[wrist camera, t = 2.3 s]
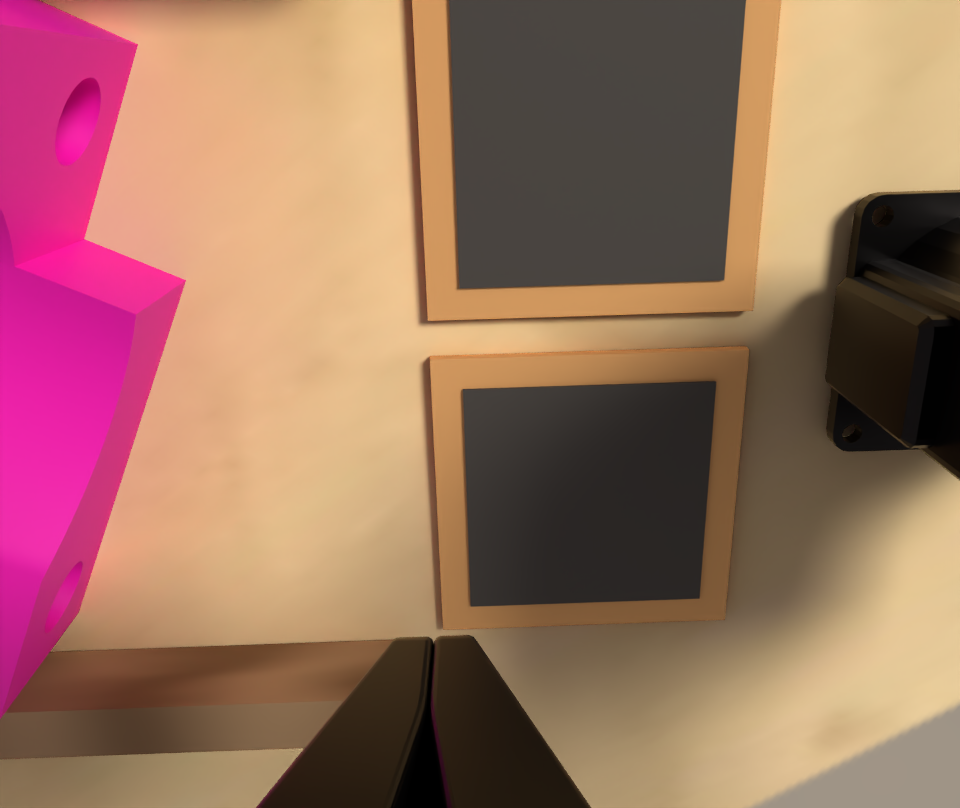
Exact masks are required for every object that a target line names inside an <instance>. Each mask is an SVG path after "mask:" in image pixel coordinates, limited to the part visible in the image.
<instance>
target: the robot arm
mask: <svg viewBox="0 0 960 808" xmlns="http://www.w3.org/2000/svg"><path fill="white" fill-rule="evenodd" d="M879 206H884V207H885V211H886V214H885V217H884V219H883V220H882V221H881V222H880V223H879V224H874V223H873V222H872V215H873V212H874V211H875V210H876V209H877V208H878V207H879ZM825 379H826V382H827V383H828V384H829V385H830V386H831V387H832V389H831V397H830V405H829V412H828V420H827V428H826V429H827V436H828V438H829V439H830V441H831V442H832V443H833V444H834V445H835V446H837V447H838V448H840V449H841V450H843V451H880V450H910V449H920V450H921V451H923V452H924V453H925V454H927V455H928V456H929V457H930V458H932V459H933V460H934V461H936V462H937V463H938V464H939V465H941V466H942V467H943V468H945V469H946V470H947V471H948V472H950V473H951V474H952V475H954V476H955V477H956V478H957V479H959V480H960V190H944V191H910V192H878V193H873V194H869V195H868V196H866V197H865V198H863V199H862V200H861V201H860V203H859V204H858V205H857V207H856V210H855V213H854V219H853V227H852V235H851V242H850V250H849V258H848V265H847V273H846V277H845V278H844V279H843V281H842V282H841V283H840V284H839V285H838V286H837V289H836V296H835V304H834V312H833V320H832V328H831V336H830V344H829V352H828V360H827V368H826V376H825ZM853 424H854V425H855V429H854V432H853V433H852V434H851V435H849V436H846V437H843V436H842V433H843V431H844V429H845V428H846V427H847V426H849V425H853ZM256 808H591V807H590V805H589V804H588V802H587V801H586V800H585V798H584V797H583V795H582V794H581V792H580V791H579V789H578V788H577V786H576V785H575V783H574V782H573V781H572V779H571V778H570V776H569V775H568V773H567V772H566V770H565V769H564V767H563V766H562V765H561V763H560V762H559V760H558V759H557V757H556V756H555V754H554V753H553V751H552V750H551V749H550V747H549V746H548V744H547V743H546V741H545V740H544V738H543V737H542V735H541V734H540V732H539V731H538V730H537V728H536V727H535V725H534V724H533V722H532V721H531V719H530V718H529V716H528V715H527V714H526V712H525V711H524V709H523V708H522V706H521V705H520V703H519V702H518V700H517V699H516V697H515V696H514V695H513V693H512V692H511V690H510V689H509V687H508V686H507V684H506V683H505V681H504V680H503V679H502V677H501V676H500V674H499V673H498V671H497V670H496V668H495V667H494V665H493V664H492V663H491V661H490V660H489V658H488V657H487V655H486V654H485V652H484V651H483V649H482V648H481V646H480V645H479V644H478V642H477V641H476V639H475V638H474V637H472V636H470V635H460V636H440V637H438V638H436V640H435V641H434V643H433V640H432V639H431V638H429V637H404V638H396V639H394V640H393V641H392V642H391V643H390V644H389V645H388V647H387V648H386V649H385V650H384V652H383V653H382V654H381V655H380V656H379V658H378V659H377V660H376V661H375V663H374V664H373V665H372V666H371V667H370V669H369V670H368V671H367V672H366V674H365V675H364V676H363V677H362V679H361V680H360V681H359V682H358V683H357V685H356V686H355V687H354V688H353V690H352V691H351V692H350V693H349V694H348V696H347V697H346V698H345V699H344V701H343V702H342V703H341V704H340V705H339V707H338V708H337V709H336V710H335V712H334V713H333V714H332V715H331V717H330V718H329V719H328V720H327V721H326V723H325V724H324V725H323V726H322V728H321V729H320V730H319V731H318V732H317V734H316V735H315V736H314V737H313V739H312V740H311V741H310V742H309V744H308V745H307V746H306V747H305V748H304V750H303V751H302V752H301V753H300V755H299V756H298V757H297V758H296V759H295V761H294V762H293V763H292V764H291V766H290V767H289V768H288V769H287V771H286V772H285V773H284V774H283V775H282V777H281V778H280V779H279V780H278V782H277V783H276V784H275V785H274V786H273V788H272V789H271V790H270V791H269V793H268V794H267V795H266V796H265V797H264V799H263V800H262V801H261V802H260V804H259V805H258V806H257V807H256Z"/></svg>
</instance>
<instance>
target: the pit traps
mask: <svg viewBox="0 0 960 808" xmlns="http://www.w3.org/2000/svg"><path fill="white" fill-rule="evenodd" d="M780 8H781V0H412V10H413V31H414V51H415V71H416V91H417V112H418V132H419V152H420V172H421V193H422V213H423V233H424V254H425V274H426V294H427V314H428V321H437V320H469V319H502V318H534V317H566V316H598V315H630V314H663V313H695V312H727V311H753V305H754V294H755V283H756V272H757V261H758V250H759V239H760V228H761V217H762V206H763V195H764V184H765V173H766V162H767V151H768V140H769V129H770V118H771V107H772V96H773V85H774V74H775V63H776V52H777V41H778V30H779V19H780ZM748 360H749V349H748V348H747V347H746V346H737V347H705V348H673V349H642V350H610V351H578V352H547V353H515V354H483V355H452V356H430V375H431V395H432V416H433V436H434V456H435V476H436V497H437V517H438V537H439V557H440V578H441V598H442V618H443V630H451V629H480V628H508V627H536V626H564V625H592V624H620V623H649V622H677V621H705V620H725V613H726V602H727V591H728V580H729V569H730V558H731V547H732V536H733V525H734V514H735V503H736V492H737V481H738V470H739V459H740V448H741V437H742V426H743V415H744V404H745V393H746V382H747V371H748Z"/></svg>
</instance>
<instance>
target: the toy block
mask: <svg viewBox="0 0 960 808" xmlns="http://www.w3.org/2000/svg"><path fill="white" fill-rule="evenodd" d="M137 46H138V44H135V43H133V42H131V41H129V40H126V39H124V38H122V37H120V36H117V35H115V34H113V33H111V32H109V31H106V30H104V29H102V28H100V27H97V26H95V25H93V24H91V23H88V22H86V21H84V20H82V19H79V18H77V17H75V16H73V15H71V14H68V13H66V12H64V11H62V10H59V9H57V8H55V7H53V6H50V5H48V4H46V3H44V2H41V1H39V0H0V719H1V718H2V716H3V715H4V714H5V712H6V711H7V709H8V708H9V707H10V705H11V704H12V703H13V701H14V700H15V699H16V697H17V696H18V694H19V693H20V692H21V690H22V689H23V688H24V686H25V685H26V684H27V682H28V681H29V679H30V678H31V677H32V675H33V674H34V673H35V671H36V670H37V669H38V667H39V666H40V664H41V663H42V662H43V660H44V659H45V658H46V656H47V655H48V654H49V652H50V651H51V650H52V648H53V647H54V645H55V644H56V643H57V641H58V640H59V639H60V637H61V636H62V635H63V633H64V632H65V630H66V629H67V628H68V626H69V625H70V624H71V622H72V621H73V620H74V618H75V617H76V615H77V614H78V613H79V610H80V607H81V604H82V601H83V597H84V594H85V591H86V588H87V585H88V582H89V579H90V576H91V573H92V570H93V566H94V563H95V560H96V557H97V554H98V551H99V548H100V545H101V542H102V539H103V535H104V532H105V529H106V526H107V523H108V520H109V517H110V514H111V511H112V508H113V505H114V501H115V498H116V495H117V492H118V489H119V486H120V483H121V480H122V477H123V474H124V470H125V467H126V464H127V461H128V458H129V455H130V452H131V449H132V446H133V443H134V439H135V436H136V433H137V430H138V427H139V424H140V421H141V418H142V415H143V412H144V409H145V405H146V402H147V399H148V396H149V393H150V390H151V387H152V384H153V381H154V378H155V374H156V371H157V368H158V365H159V362H160V359H161V356H162V353H163V350H164V347H165V343H166V340H167V337H168V334H169V331H170V328H171V325H172V322H173V319H174V316H175V312H176V309H177V306H178V303H179V300H180V297H181V294H182V291H183V288H184V285H185V282H186V280H184V279H181V278H179V277H176V276H174V275H171V274H169V273H166V272H164V271H161V270H159V269H156V268H154V267H152V266H149V265H147V264H144V263H142V262H139V261H137V260H134V259H132V258H129V257H127V256H124V255H122V254H119V253H117V252H115V251H112V250H110V249H107V248H105V247H102V246H100V245H97V244H95V243H92V242H90V241H87V240H85V239H84V237H85V234H86V230H87V227H88V223H89V219H90V216H91V212H92V209H93V205H94V201H95V198H96V194H97V190H98V187H99V183H100V180H101V176H102V172H103V169H104V165H105V161H106V158H107V154H108V151H109V147H110V143H111V140H112V136H113V132H114V129H115V125H116V122H117V118H118V114H119V111H120V107H121V103H122V100H123V96H124V93H125V89H126V85H127V82H128V78H129V75H130V71H131V67H132V64H133V60H134V56H135V53H136V49H137Z"/></svg>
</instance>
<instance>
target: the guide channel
mask: <svg viewBox="0 0 960 808" xmlns="http://www.w3.org/2000/svg"><path fill="white" fill-rule="evenodd" d="M392 641H393V640H377V641H348V642H320V643H292V644H264V645H236V646H208V647H180V648H152V649H124V650H96V651H68V652H49V654H48V655H47V656H46V658H45V659H44V660H43V662H42V663H41V664H40V666H39V667H38V669H37V670H36V671H35V673H34V674H33V675H32V677H31V678H30V679H29V681H28V682H27V684H26V685H25V686H24V688H23V689H22V690H21V692H20V693H19V694H18V696H17V697H16V699H15V700H14V701H13V703H12V704H11V705H10V707H9V708H8V709H7V711H6V712H5V714H4V715H3V716H2V718H1V719H0V759H20V758H47V757H74V756H100V755H127V754H154V753H181V752H208V751H235V750H262V749H289V748H305V747H306V746H307V745H308V744H309V742H310V741H311V740H312V739H313V737H314V736H315V735H316V734H317V732H318V731H319V730H320V729H321V728H322V726H323V725H324V724H325V723H326V721H327V720H328V719H329V718H330V717H331V715H332V714H333V713H334V712H335V710H336V709H337V708H338V707H339V705H340V704H341V703H342V702H343V701H344V699H345V698H346V697H347V696H348V694H349V693H350V692H351V691H352V690H353V688H354V687H355V686H356V685H357V683H358V682H359V681H360V680H361V679H362V677H363V676H364V675H365V674H366V672H367V671H368V670H369V669H370V667H371V666H372V665H373V664H374V663H375V661H376V660H377V659H378V658H379V656H380V655H381V654H382V653H383V652H384V650H385V649H386V648H387V647H388V645H389V644H390V643H391V642H392Z"/></svg>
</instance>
